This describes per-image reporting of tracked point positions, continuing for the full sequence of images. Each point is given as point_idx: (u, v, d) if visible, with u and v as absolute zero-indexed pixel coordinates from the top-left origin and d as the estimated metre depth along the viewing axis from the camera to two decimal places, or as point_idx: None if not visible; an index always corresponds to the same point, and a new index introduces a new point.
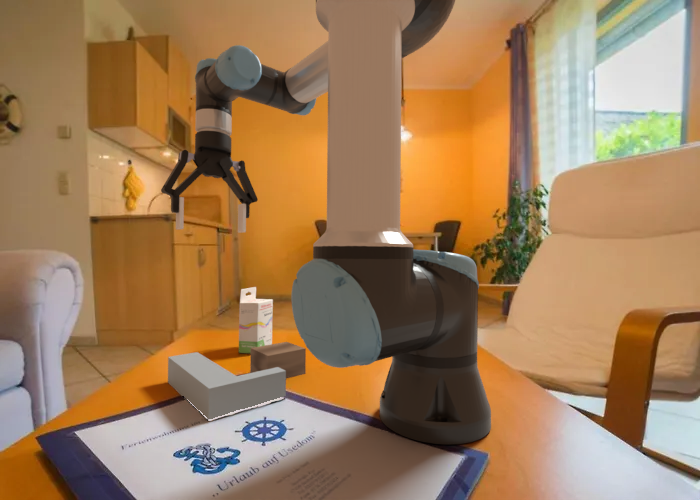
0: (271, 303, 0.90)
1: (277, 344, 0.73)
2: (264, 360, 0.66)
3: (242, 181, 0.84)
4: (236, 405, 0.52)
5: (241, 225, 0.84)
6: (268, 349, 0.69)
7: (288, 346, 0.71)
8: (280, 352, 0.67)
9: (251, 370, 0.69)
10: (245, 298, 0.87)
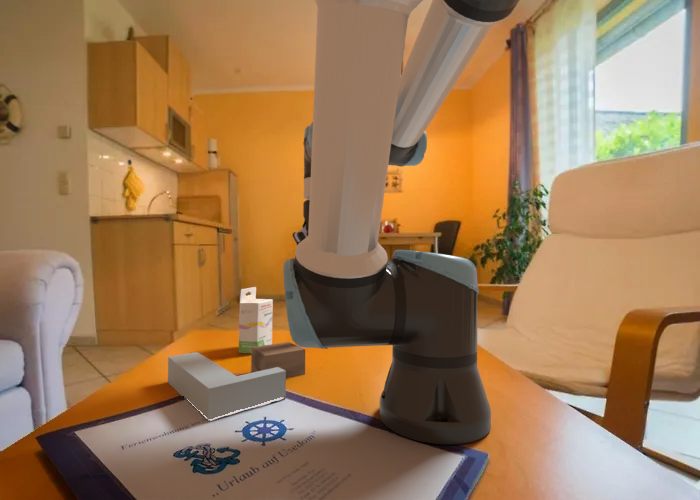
0: (271, 303, 0.90)
1: (278, 344, 0.73)
2: (262, 360, 0.66)
3: None
4: (236, 405, 0.52)
5: None
6: (268, 349, 0.69)
7: (289, 346, 0.71)
8: (279, 352, 0.67)
9: (252, 369, 0.70)
10: (245, 298, 0.87)
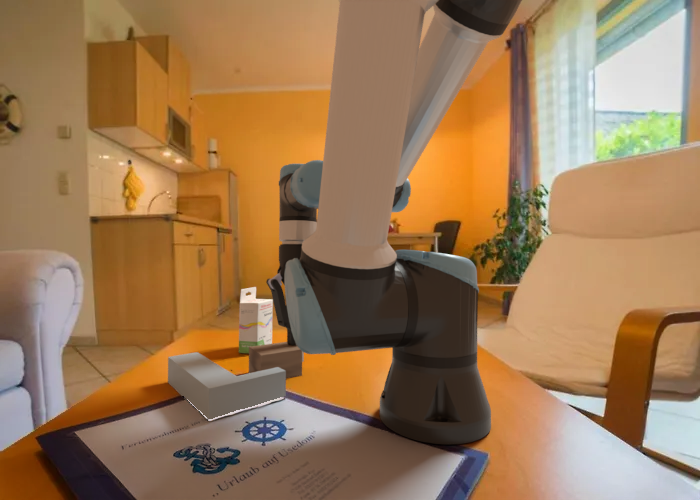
0: (271, 303, 0.90)
1: (276, 344, 0.73)
2: (258, 360, 0.66)
3: None
4: (236, 405, 0.52)
5: None
6: (265, 348, 0.69)
7: (286, 346, 0.71)
8: (275, 352, 0.67)
9: (249, 369, 0.70)
10: (245, 298, 0.87)
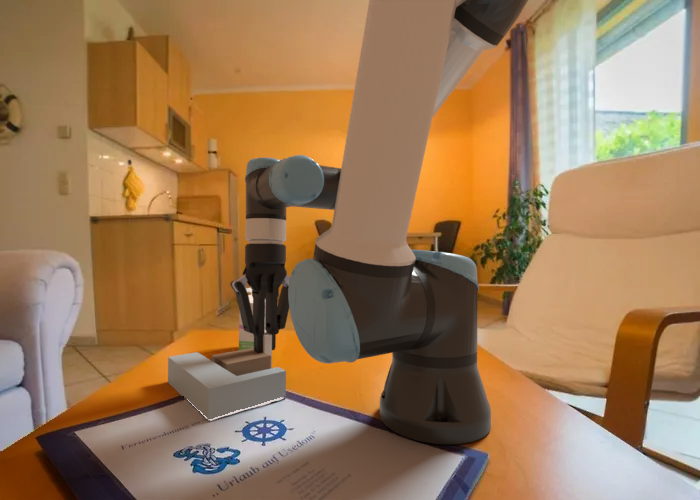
0: None
1: (242, 351, 0.68)
2: None
3: (282, 300, 0.70)
4: (236, 405, 0.52)
5: None
6: (230, 356, 0.64)
7: (253, 353, 0.66)
8: (242, 360, 0.62)
9: None
10: None
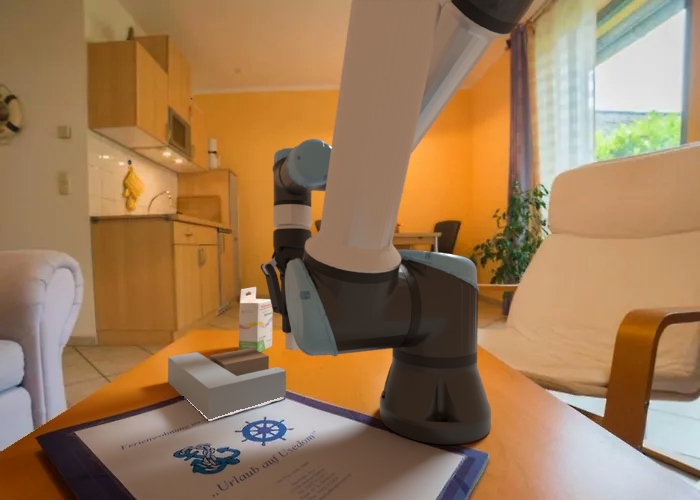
0: None
1: (239, 351, 0.68)
2: None
3: None
4: (236, 405, 0.52)
5: None
6: (227, 357, 0.64)
7: (250, 353, 0.66)
8: (239, 360, 0.62)
9: None
10: (245, 298, 0.87)
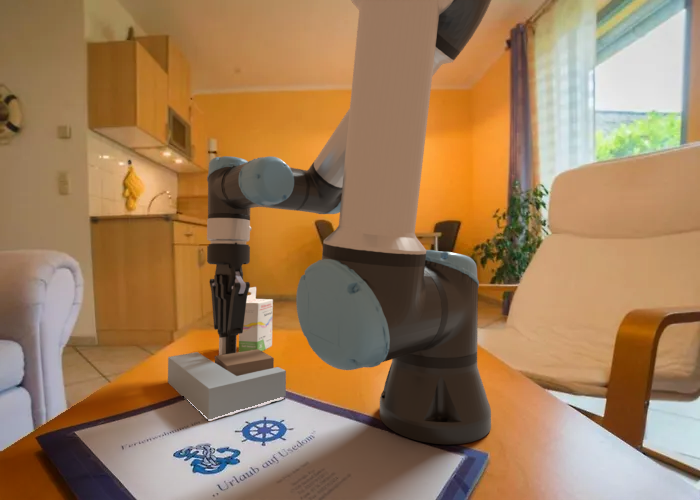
0: (271, 303, 0.90)
1: (246, 352, 0.67)
2: None
3: None
4: (236, 405, 0.52)
5: None
6: (232, 358, 0.63)
7: (256, 354, 0.65)
8: (243, 362, 0.60)
9: None
10: None
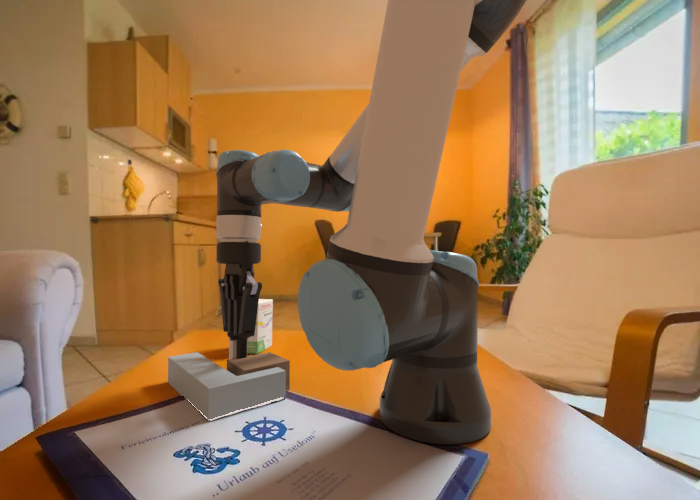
0: (271, 303, 0.90)
1: (258, 355, 0.64)
2: None
3: None
4: (236, 405, 0.52)
5: None
6: (246, 362, 0.60)
7: (270, 358, 0.63)
8: (260, 365, 0.58)
9: None
10: None
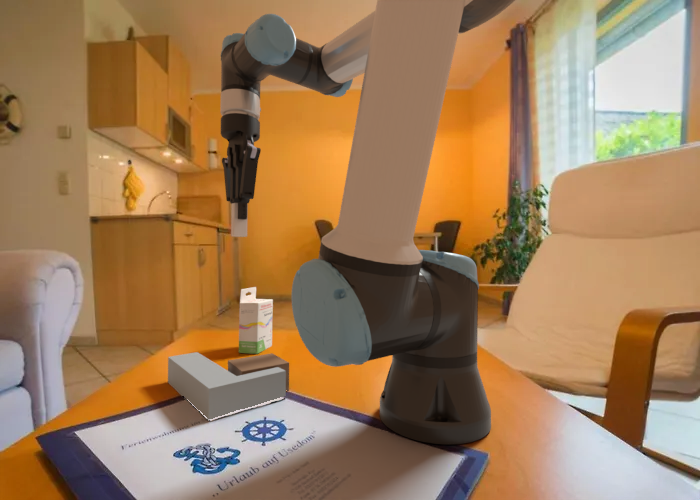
0: (271, 303, 0.90)
1: (260, 356, 0.64)
2: None
3: None
4: (236, 405, 0.52)
5: None
6: (246, 362, 0.60)
7: (271, 359, 0.62)
8: (258, 367, 0.58)
9: None
10: (245, 298, 0.87)
